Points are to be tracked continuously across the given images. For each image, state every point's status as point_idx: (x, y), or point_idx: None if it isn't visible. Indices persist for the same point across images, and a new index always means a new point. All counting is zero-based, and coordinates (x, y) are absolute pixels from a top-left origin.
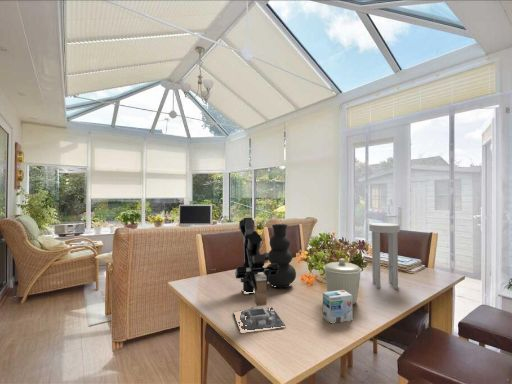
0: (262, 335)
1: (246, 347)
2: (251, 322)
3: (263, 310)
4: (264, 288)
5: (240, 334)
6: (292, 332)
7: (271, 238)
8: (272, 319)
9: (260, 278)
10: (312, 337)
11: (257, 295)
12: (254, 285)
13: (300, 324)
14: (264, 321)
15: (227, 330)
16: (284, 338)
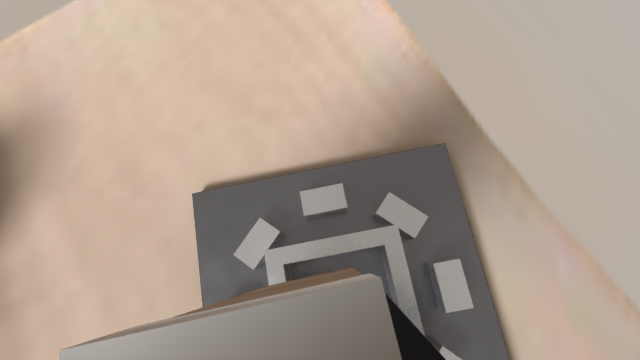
0: (326, 129)
1: (402, 38)
2: (387, 194)
3: None
4: (243, 297)
5: (439, 143)
6: (174, 151)
7: None
8: (253, 228)
9: (272, 297)
10: (99, 104)
11: (349, 270)
12: (407, 318)
13: (107, 232)
14: (306, 197)
15: (518, 187)
16: (226, 100)
